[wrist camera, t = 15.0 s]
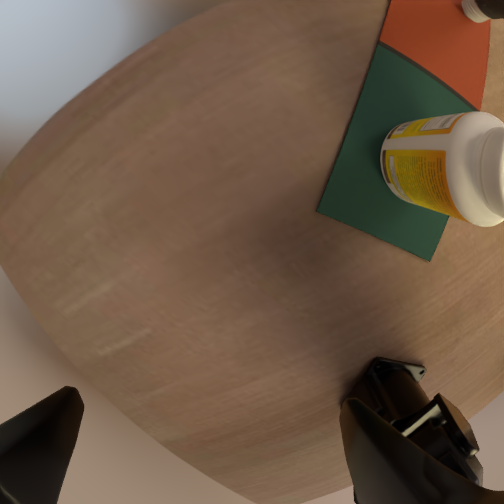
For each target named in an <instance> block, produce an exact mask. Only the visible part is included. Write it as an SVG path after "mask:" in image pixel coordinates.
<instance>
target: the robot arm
mask: <svg viewBox="0 0 504 504" xmlns="http://www.w3.org/2000/svg"><path fill="white" fill-rule="evenodd" d="M378 362H379V363H378ZM377 363H378V364H377ZM425 373H426V368H425V367H424V366H422V365H417V364H412V363H407V362H402V361H397V360H392V359H387V358H383V357H377V358H375V359H374V360H373V361H372V363H371V364H370V366H369V367H368V369H367V370H366V372H365V373H364V375H363V376H362V378H361V379H360V381H359V382H358V383H357V385H356V386H355V388H354V389H353V390H352V392H351V393H350V395H349V396H348V397H347V399H345V400H344V402H343V404H342V405H341V413H340V426H341V432H342V438H343V444H344V451H345V456H346V461H347V465H348V468H349V471H350V475H351V478H352V482H353V485H354V501H355V503H356V504H504V491H493V490H489V489H486V488H483V487H482V483H483V467H482V465H481V464H480V462H479V461H478V459H477V458H476V456H475V454H476V453H477V452H478V451H479V446H478V444H477V441H476V439H475V436H474V434H473V431H472V429H471V426H470V424H469V423H468V421H467V420H466V419H465V417H464V416H463V415H462V413H461V412H460V411H459V409H458V408H457V407H456V406H454V405H453V404H452V403H451V402H450V401H448V400H447V399H446V398H445V397H444V396H442V395H441V394H440V393H438V394H437V395H436V396H434V399H433V400H432V401H430V400H429V398H428V397H427V395H426V394H425V392H424V391H423V389H422V388H421V386H420V385H419V381H420V380H421V378H422V377H423V376H424V374H425ZM83 412H84V403H83V401H82V399H81V396H80V394H79V392H78V390H77V389H76V388H75V387H70V386H65V387H63V388H61V389H60V390H58V391H56V392H55V393H53V394H51V395H50V396H48V397H47V398H45V399H43V400H41V401H40V402H38V403H36V404H35V405H33V406H32V407H30V408H28V409H26V410H25V411H23V412H21V413H19V414H18V415H16V416H15V417H13V418H11V419H9V420H8V421H6V422H4V423H2V424H1V425H0V504H57V501H58V498H59V494H60V491H61V487H62V484H63V481H64V478H65V474H66V471H67V468H68V465H69V462H70V459H71V456H72V453H73V450H74V447H75V444H76V441H77V437H78V432H79V428H80V424H81V420H82V416H83Z"/></svg>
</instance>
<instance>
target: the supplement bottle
mask: <svg viewBox="0 0 504 504" xmlns="http://www.w3.org/2000/svg"><path fill="white" fill-rule="evenodd" d="M380 162H381V170H382V174H383V177H384V179H385V182H386V183H387V185H388V187H389V188H390V189H391V191H392V192H393V193H394V194H395V195H396V196H398V197H399V198H400V199H402V200H404V201H406V202H409V203H412V204H415V205H418V206H422V207H425V208H428V209H431V210H434V211H437V212H440V213H443V214H446V215H449V216H452V217H455V218H458V219H461V220H463V221H466V222H469V223H471V224H474V225H478V226H481V227H491V226H495V225H497V224H499V223H501V222H502V221H504V123H503V122H502V121H500V120H499V119H498V118H497V117H495V116H493V115H492V114H489V113H486V112H467V113H459V114H452V115H445V116H438V117H432V118H427V119H421V120H415V121H410V122H405V123H402V124H400V125H398V126H396V127H395V128H393V129H392V130H391V131H390V132H389V134H388V135H387V136H386V138H385V140H384V142H383V145H382V149H381V156H380Z"/></svg>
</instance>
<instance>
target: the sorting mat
mask: <svg viewBox="0 0 504 504" xmlns="http://www.w3.org/2000/svg"><path fill="white" fill-rule="evenodd" d="M462 1H463V0H391V1H390V5H389V8H388V12H387V15H386V18H385V21H384V25H383V28H382V31H381V34H380V38H379V41H378V44H377V47H376V50H375V53H374V56H373V59H372V62H371V65H370V68H369V71H368V74H367V77H366V80H365V83H364V86H363V89H362V92H361V94H360V97H359V100H358V103H357V106H356V109H355V111H354V114H353V117H352V120H351V122H350V125H349V128H348V131H347V133H346V136H345V139H344V141H343V144H342V147H341V149H340V152H339V155H338V157H337V160H336V162H335V165H334V168H333V170H332V173H331V175H330V178H329V180H328V183H327V186H326V188H325V191H324V193H323V196H322V198H321V201H320V203H319V206H318V208H317V210H316V211H317V212H319V213H321V214H323V215H326V216H328V217H331V218H333V219H336V220H338V221H340V222H343V223H345V224H348V225H350V226H352V227H355V228H357V229H359V230H362V231H364V232H366V233H368V234H371V235H373V236H375V237H377V238H380V239H382V240H384V241H386V242H389V243H391V244H393V245H395V246H397V247H400V248H402V249H404V250H406V251H408V252H410V253H412V254H415V255H417V256H419V257H421V258H423V259H425V260H427V261H429V262H430V261H431V258H432V256H433V254H434V252H435V249H436V247H437V245H438V243H439V240H440V238H441V235H442V233H443V231H444V228H445V226H446V223H447V220H448V218H449V215H446V214H443V213H440V212H437V211H434V210H431V209H428V208H425V207H422V206H418V205H415V204H412V203H409V202H406V201H404V200H402V199H400V198H399V197H398V196H396V195H395V194H394V193H393V192H392V191H391V189H390V188H389V187H388V185H387V183H386V182H385V179H384V177H383V174H382V170H381V162H380V156H381V149H382V145H383V142H384V140H385V138H386V136H387V135H388V134H389V132H390V131H391V130H392V129H393V128H395V127H396V126H398V125H400V124H402V123H405V122H410V121H415V120H421V119H427V118H432V117H438V116H445V115H452V114H459V113H467V112H480V108H481V103H482V97H483V92H484V85H485V79H486V71H487V63H488V53H489V40H490V19H488V20H486V21H484V22H480V23H477V22H474V21H473V20H471V19H470V18H468V17H467V16H466V15H465V14H464V12H463V8H462Z"/></svg>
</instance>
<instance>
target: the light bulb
mask: <svg viewBox="0 0 504 504" xmlns="http://www.w3.org/2000/svg"><path fill="white" fill-rule="evenodd" d="M462 8H463V12H464V14H465V15H466V16H467V17H468V18H470V19H471V20H473V21H474V22H477V23H480V22H484V21H486V20H488V19H499V18H503V19H504V0H463V1H462Z"/></svg>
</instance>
